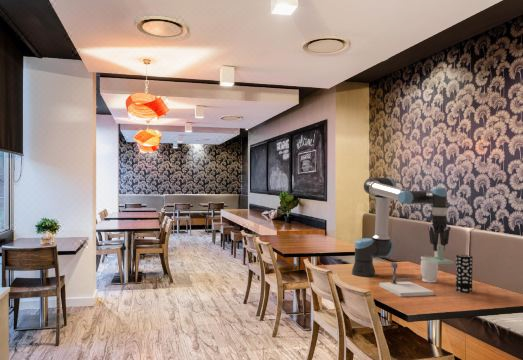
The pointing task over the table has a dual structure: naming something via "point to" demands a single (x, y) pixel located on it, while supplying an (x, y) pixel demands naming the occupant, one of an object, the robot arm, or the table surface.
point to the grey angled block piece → (395, 273)
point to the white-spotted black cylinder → (464, 273)
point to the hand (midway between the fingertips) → (438, 256)
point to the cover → (440, 257)
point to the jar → (428, 270)
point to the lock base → (406, 289)
